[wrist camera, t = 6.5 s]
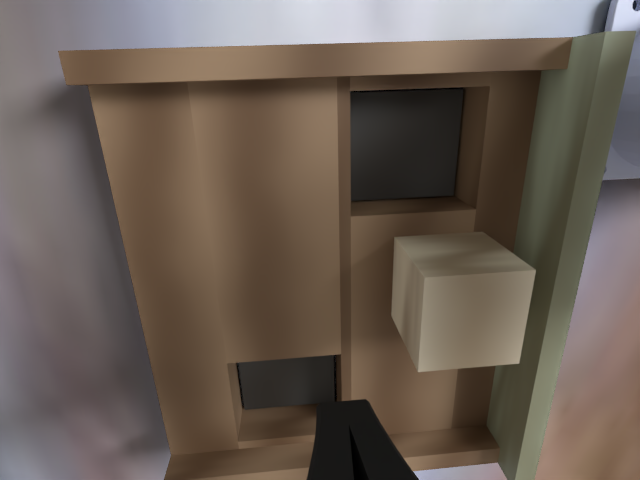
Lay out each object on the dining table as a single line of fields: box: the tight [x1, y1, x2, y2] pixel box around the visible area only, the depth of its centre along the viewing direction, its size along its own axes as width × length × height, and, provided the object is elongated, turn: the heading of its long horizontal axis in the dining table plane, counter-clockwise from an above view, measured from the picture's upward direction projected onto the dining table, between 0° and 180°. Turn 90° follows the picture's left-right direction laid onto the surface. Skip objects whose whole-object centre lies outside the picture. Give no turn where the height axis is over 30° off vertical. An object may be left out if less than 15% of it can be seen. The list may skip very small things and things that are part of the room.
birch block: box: [391, 232, 536, 372], centre depth 16 cm, size 4×4×4 cm
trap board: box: [58, 31, 636, 480], centre depth 18 cm, size 18×20×6 cm
